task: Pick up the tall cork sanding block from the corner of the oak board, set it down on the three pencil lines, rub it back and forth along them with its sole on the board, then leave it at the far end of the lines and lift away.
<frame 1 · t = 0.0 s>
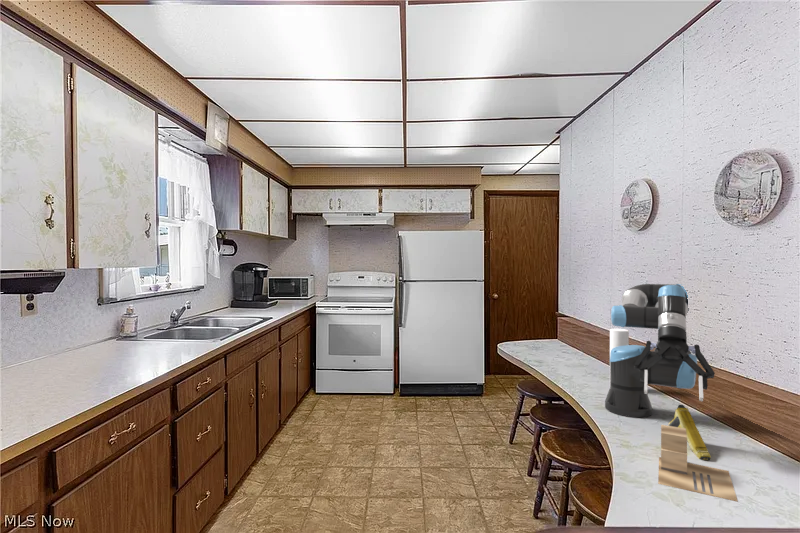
hand: (672, 395, 124), 15 cm above the countertop, tool tilted 35°, fingers open, 13 cm apart
sanding block: (673, 465, 111), point 1 cm above the countertop, touching board
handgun: (687, 449, 124), on the countertop
board: (694, 483, 105), on the countertop
cylindrical container: (619, 389, 181), on the countertop
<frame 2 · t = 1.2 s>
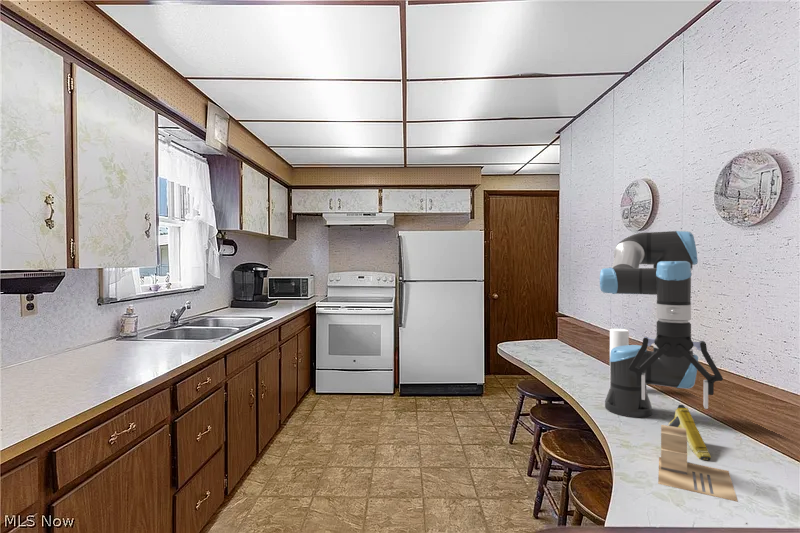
hand: (673, 402, 111), 18 cm above the countertop, tool pointing down, fingers open, 13 cm apart
nothing on the countertop moved.
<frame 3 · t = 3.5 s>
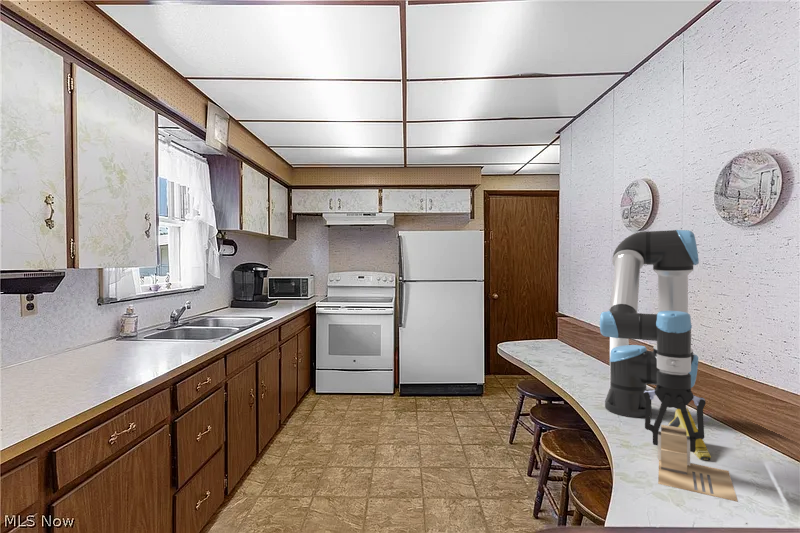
hand: (673, 460, 111), 3 cm above the countertop, tool pointing down, fingers closed on sanding block, 5 cm apart
sanding block: (673, 465, 111), point 2 cm above the countertop, touching board, gripper
everything else where it was.
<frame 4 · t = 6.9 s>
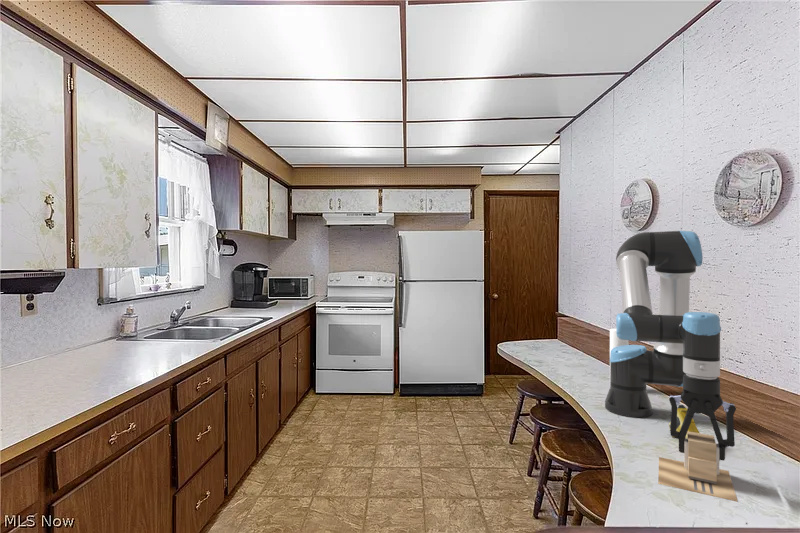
hand: (701, 468, 106), 3 cm above the countertop, tool pointing down, fingers closed on sanding block, 5 cm apart
sanding block: (701, 474, 106), point 2 cm above the countertop, touching gripper
everything else where it was.
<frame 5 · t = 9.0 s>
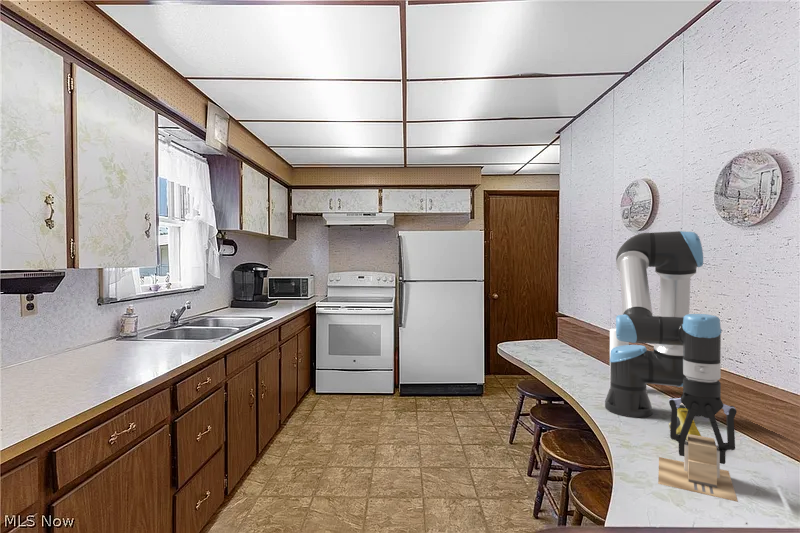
hand: (701, 472, 105), 3 cm above the countertop, tool pointing down, fingers closed on sanding block, 5 cm apart
sanding block: (701, 477, 105), point 2 cm above the countertop, touching gripper
everything else where it was.
when the fingers open (3 cm above the countertop, at t = 10.7 s): sanding block stays where it is, resting on board.
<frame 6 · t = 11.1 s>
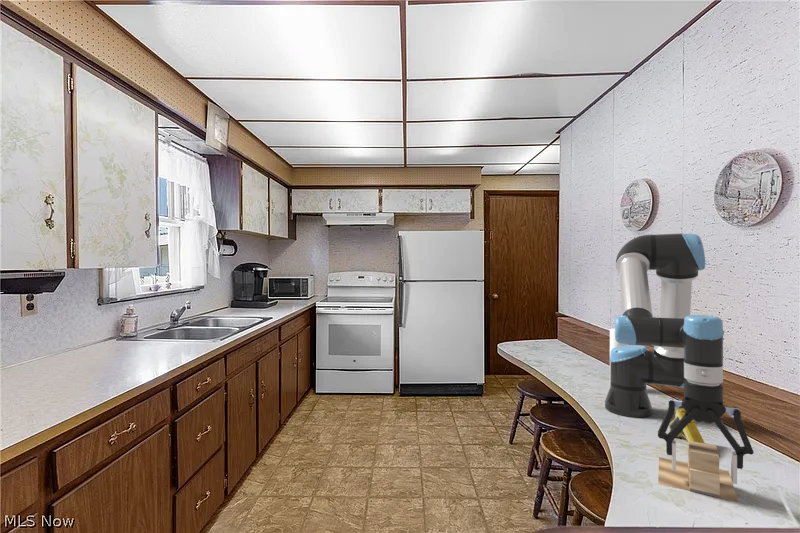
hand: (703, 474, 101), 4 cm above the countertop, tool pointing down, fingers open, 11 cm apart
sanding block: (703, 486, 101), point 2 cm above the countertop, touching board
everything else where it was.
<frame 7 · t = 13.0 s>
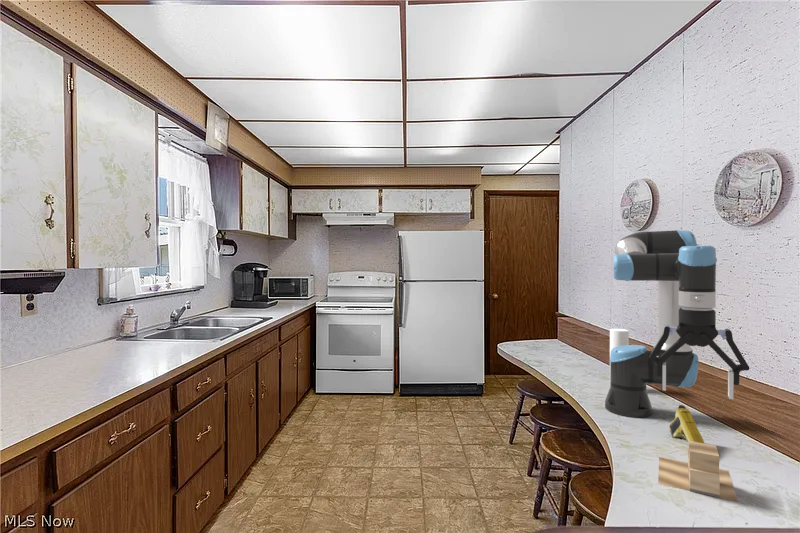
hand: (696, 393, 106), 22 cm above the countertop, tool pointing down, fingers open, 13 cm apart
nothing on the countertop moved.
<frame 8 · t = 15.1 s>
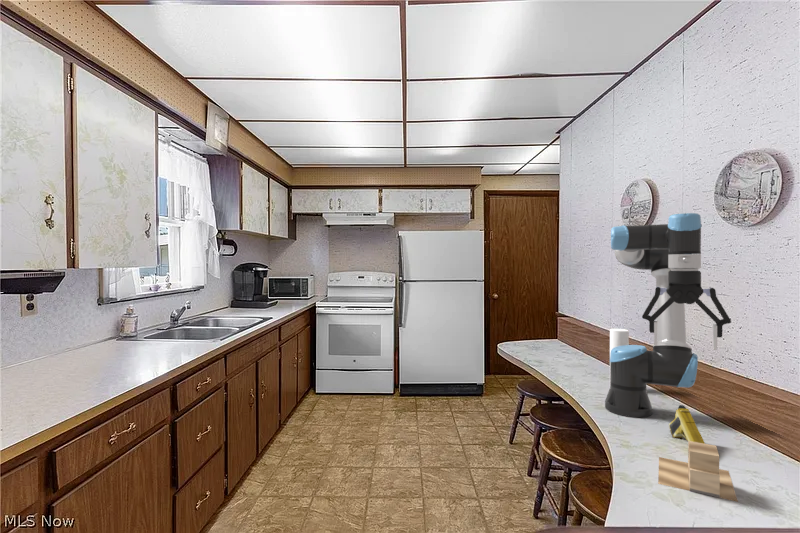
hand: (684, 346, 118), 31 cm above the countertop, tool pointing down, fingers open, 13 cm apart
nothing on the countertop moved.
at the end: sanding block inside the target area (0.1 cm from its centre), point 1.5 cm above the countertop; sanding block tilted 0°; the gripper is holding nothing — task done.
